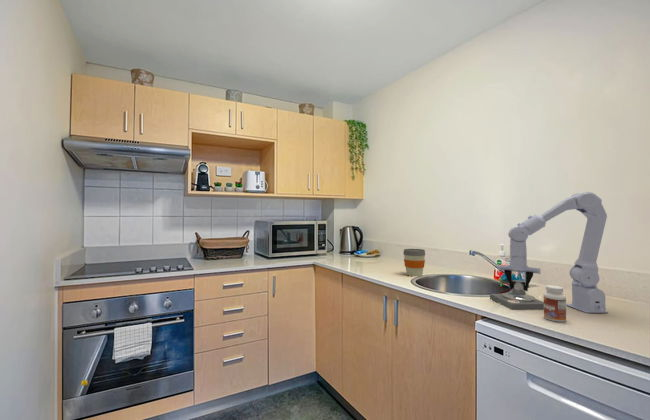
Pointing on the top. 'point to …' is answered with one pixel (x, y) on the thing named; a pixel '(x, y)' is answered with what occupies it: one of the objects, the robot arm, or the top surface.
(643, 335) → the top surface
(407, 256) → the reusable coffee cup
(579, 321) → the top surface
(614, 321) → the top surface
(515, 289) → the steel spacer
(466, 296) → the top surface
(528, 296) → the scale
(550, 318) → the pill bottle
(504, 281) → the teal lumpy piece
